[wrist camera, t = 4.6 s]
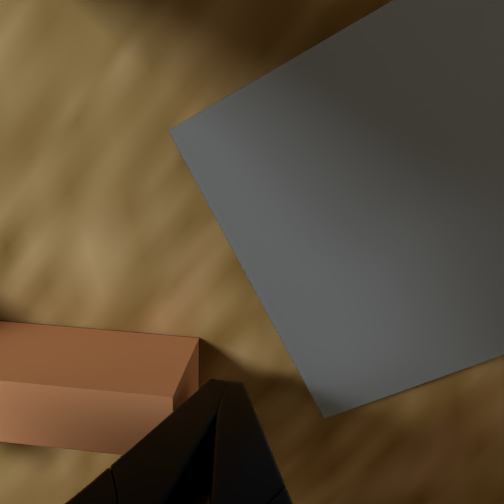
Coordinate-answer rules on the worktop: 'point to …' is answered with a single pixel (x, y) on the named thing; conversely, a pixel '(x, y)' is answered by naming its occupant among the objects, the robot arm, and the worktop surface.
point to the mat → (370, 197)
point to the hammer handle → (90, 385)
